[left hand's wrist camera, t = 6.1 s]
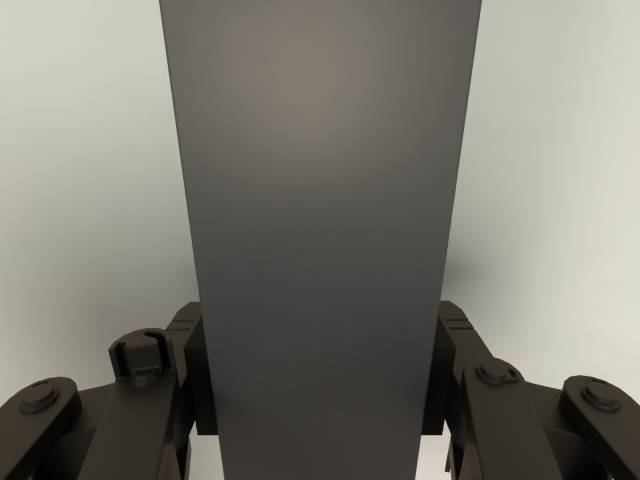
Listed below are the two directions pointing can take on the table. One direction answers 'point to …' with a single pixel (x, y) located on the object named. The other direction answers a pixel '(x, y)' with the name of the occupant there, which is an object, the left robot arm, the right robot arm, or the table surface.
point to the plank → (320, 219)
